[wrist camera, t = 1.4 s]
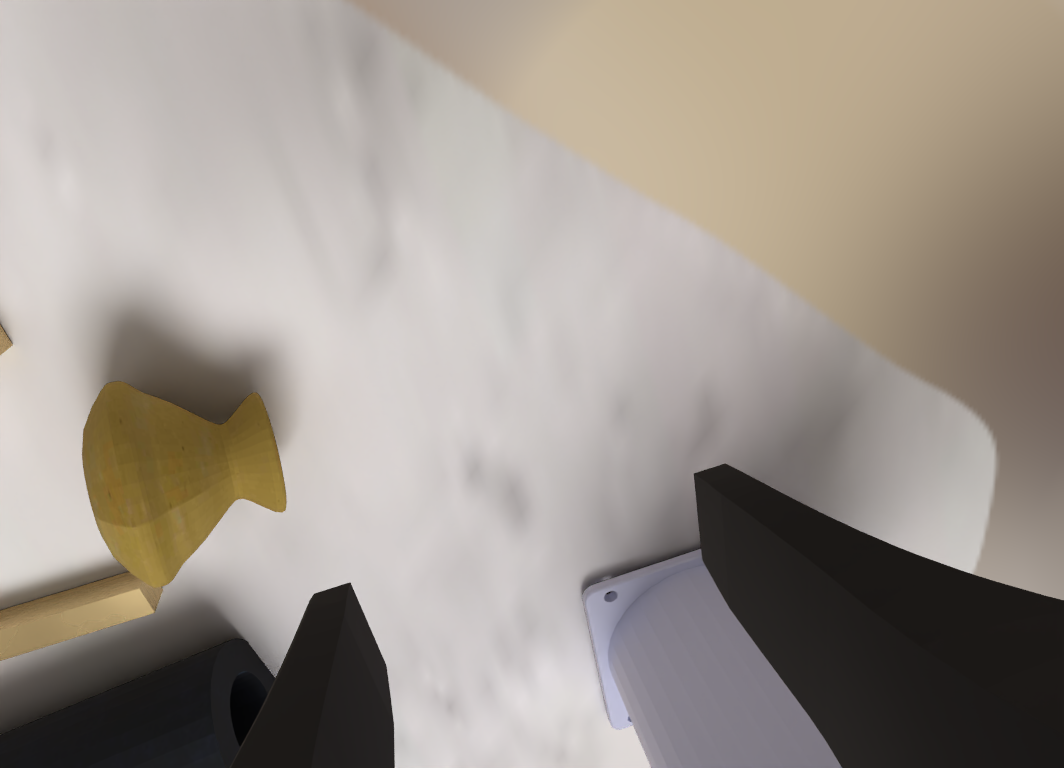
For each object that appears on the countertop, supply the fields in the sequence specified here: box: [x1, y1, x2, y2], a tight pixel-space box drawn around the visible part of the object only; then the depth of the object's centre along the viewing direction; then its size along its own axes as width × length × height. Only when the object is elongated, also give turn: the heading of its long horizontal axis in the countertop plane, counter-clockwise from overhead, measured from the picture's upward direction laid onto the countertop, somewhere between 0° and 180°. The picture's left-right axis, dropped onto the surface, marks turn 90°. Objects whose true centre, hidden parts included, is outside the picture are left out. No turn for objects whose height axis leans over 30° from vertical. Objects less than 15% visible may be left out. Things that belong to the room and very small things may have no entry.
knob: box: [82, 381, 286, 588], centre depth 17 cm, size 5×5×5 cm
